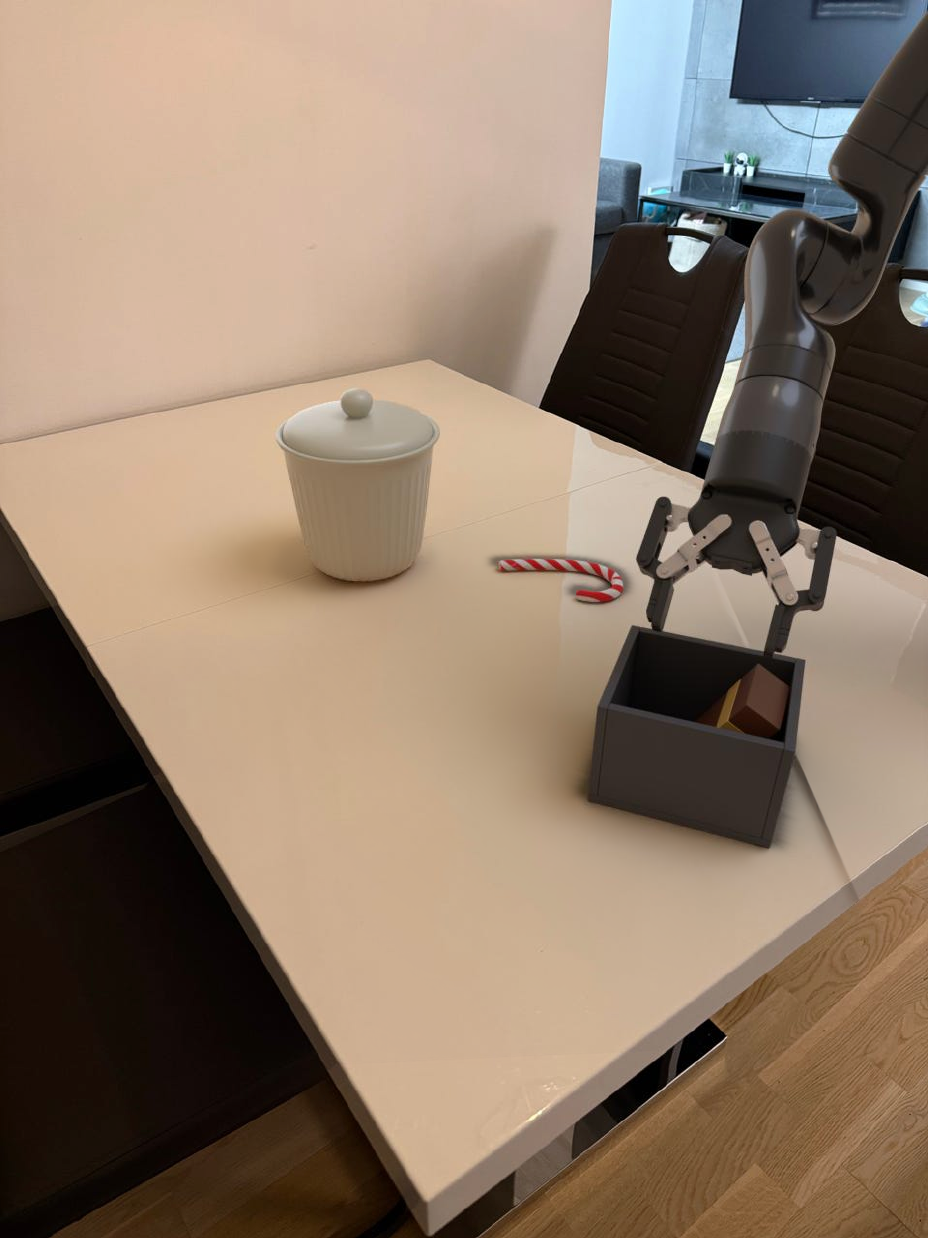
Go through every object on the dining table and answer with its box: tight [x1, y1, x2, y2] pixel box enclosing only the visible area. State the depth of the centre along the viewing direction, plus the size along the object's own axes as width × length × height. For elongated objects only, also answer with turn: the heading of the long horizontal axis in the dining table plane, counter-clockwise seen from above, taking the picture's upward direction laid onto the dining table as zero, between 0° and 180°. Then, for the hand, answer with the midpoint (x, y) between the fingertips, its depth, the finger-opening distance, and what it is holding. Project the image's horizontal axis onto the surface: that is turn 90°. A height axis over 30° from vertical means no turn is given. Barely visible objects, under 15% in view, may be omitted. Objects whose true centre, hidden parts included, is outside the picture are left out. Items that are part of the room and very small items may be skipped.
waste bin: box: [586, 624, 806, 849], centre depth 76 cm, size 15×13×10 cm
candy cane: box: [497, 558, 624, 603], centre depth 106 cm, size 8×1×15 cm
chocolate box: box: [695, 664, 790, 739], centre depth 74 cm, size 3×6×10 cm, turn 156°
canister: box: [275, 387, 441, 582], centre depth 105 cm, size 18×18×21 cm
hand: (711, 642), depth 70 cm, fingers open, 8 cm apart
